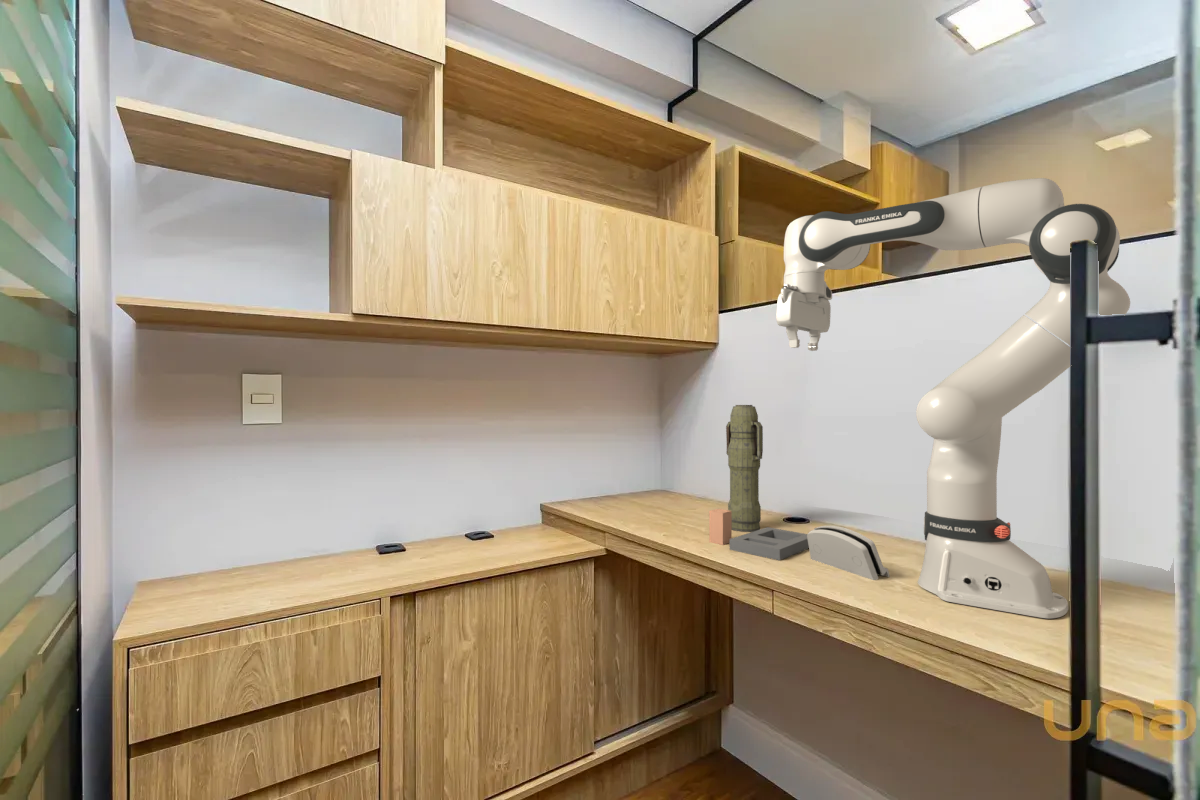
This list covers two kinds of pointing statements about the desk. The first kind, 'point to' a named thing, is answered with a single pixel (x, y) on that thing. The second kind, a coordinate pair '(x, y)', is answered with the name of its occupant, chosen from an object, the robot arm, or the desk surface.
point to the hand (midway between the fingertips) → (803, 349)
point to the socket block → (770, 543)
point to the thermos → (744, 467)
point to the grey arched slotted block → (846, 551)
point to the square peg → (720, 526)
